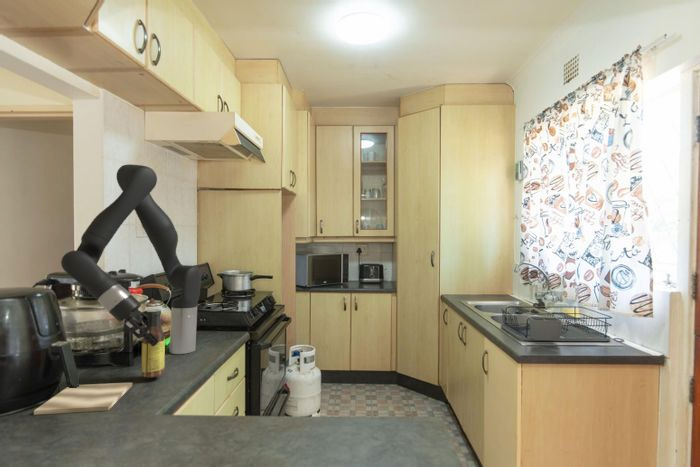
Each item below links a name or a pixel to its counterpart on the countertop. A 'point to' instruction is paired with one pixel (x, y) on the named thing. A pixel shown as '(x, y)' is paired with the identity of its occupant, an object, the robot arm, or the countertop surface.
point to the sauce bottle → (153, 347)
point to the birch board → (84, 398)
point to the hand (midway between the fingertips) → (159, 340)
